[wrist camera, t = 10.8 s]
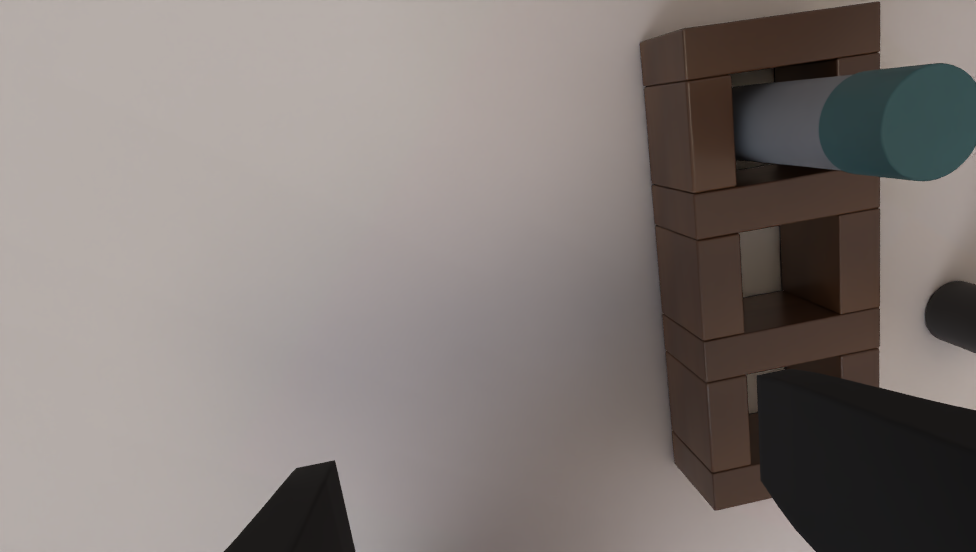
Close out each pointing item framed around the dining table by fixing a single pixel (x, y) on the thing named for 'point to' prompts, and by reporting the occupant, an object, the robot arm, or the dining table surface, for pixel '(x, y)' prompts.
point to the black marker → (954, 314)
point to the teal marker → (862, 122)
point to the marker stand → (750, 206)
